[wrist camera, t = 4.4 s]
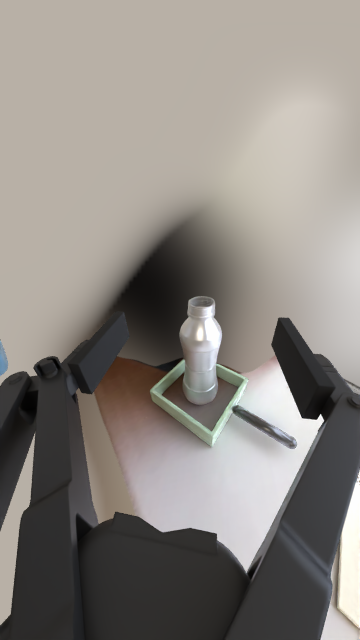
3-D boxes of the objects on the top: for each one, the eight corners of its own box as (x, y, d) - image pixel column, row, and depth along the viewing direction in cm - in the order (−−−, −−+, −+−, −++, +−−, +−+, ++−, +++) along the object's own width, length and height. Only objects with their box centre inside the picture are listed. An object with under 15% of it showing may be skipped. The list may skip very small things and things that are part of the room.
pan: (151, 400, 35) (149, 390, 34) (192, 361, 44) (191, 351, 42) (280, 501, 23) (286, 492, 21) (301, 417, 31) (307, 407, 30)
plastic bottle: (224, 396, 35) (236, 302, 25) (197, 417, 32) (198, 319, 21) (201, 376, 40) (203, 288, 29) (176, 392, 36) (168, 301, 26)
